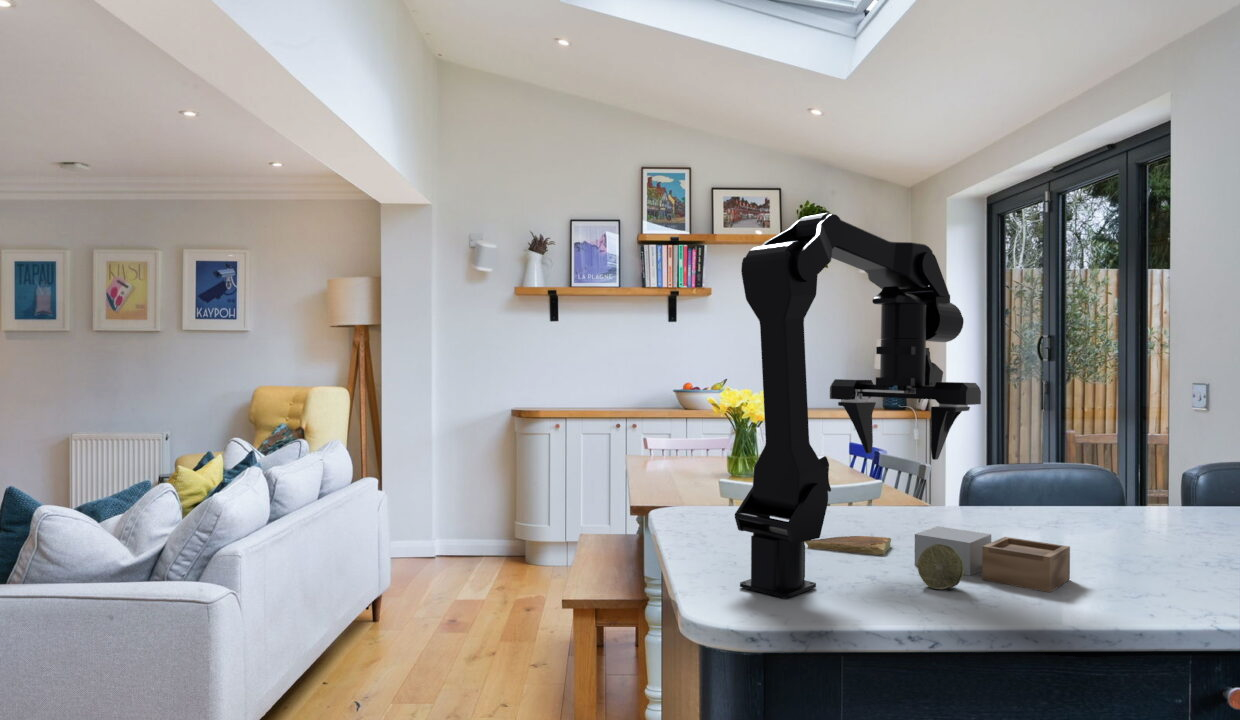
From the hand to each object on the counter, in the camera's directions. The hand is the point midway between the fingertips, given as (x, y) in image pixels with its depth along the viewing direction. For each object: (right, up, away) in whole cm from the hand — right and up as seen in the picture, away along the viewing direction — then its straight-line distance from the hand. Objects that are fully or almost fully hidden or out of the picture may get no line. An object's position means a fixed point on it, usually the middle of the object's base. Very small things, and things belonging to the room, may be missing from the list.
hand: (901, 456), depth 109 cm
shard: (-5, -14, +4) cm, 16 cm away
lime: (0, -14, -14) cm, 20 cm away
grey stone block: (+5, -14, -4) cm, 15 cm away
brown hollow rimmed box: (+11, -14, -11) cm, 21 cm away
